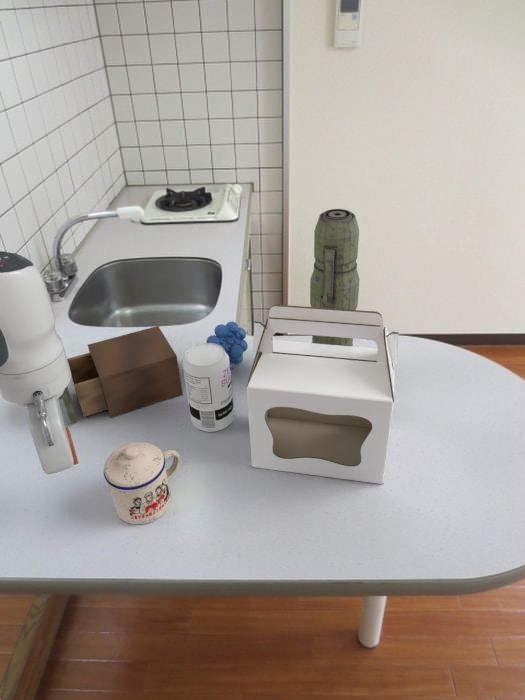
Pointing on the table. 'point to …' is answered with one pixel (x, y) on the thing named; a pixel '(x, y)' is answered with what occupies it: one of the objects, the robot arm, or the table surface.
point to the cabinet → (136, 370)
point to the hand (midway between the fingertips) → (58, 450)
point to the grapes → (230, 341)
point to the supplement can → (208, 387)
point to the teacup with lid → (140, 481)
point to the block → (72, 446)
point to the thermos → (335, 267)
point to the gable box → (322, 394)
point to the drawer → (84, 387)
